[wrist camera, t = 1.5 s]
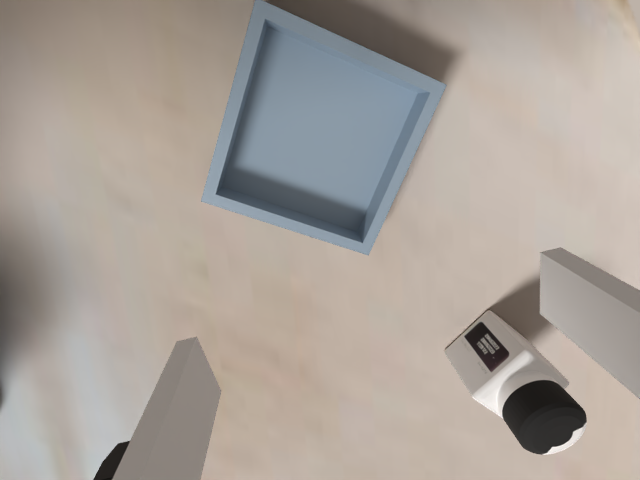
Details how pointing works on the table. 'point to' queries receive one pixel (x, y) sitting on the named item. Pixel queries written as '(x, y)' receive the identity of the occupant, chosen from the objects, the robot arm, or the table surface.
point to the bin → (317, 131)
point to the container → (517, 385)
